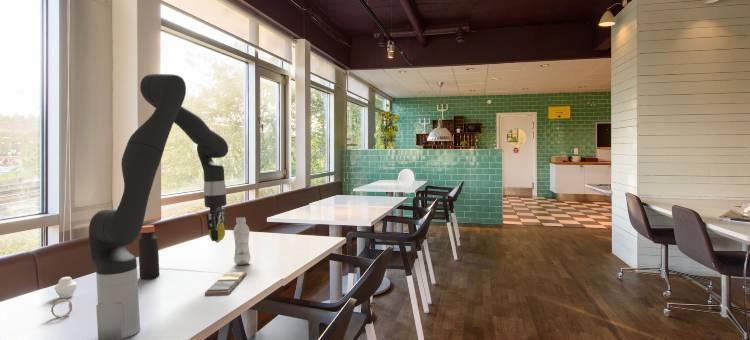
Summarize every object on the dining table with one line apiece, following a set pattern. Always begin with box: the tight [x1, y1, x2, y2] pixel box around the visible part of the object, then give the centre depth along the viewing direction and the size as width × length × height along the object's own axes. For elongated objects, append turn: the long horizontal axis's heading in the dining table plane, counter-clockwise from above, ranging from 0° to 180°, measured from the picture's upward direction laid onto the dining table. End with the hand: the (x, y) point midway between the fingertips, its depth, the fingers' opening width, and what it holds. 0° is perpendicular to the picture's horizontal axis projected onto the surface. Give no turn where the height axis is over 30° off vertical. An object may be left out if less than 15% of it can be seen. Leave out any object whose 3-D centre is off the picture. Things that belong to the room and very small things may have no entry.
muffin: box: [54, 276, 78, 299], centre depth 142 cm, size 6×6×7 cm
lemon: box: [208, 223, 226, 244], centre depth 153 cm, size 6×6×8 cm
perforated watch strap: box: [50, 298, 73, 318], centre depth 124 cm, size 3×5×5 cm, turn 138°
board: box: [204, 271, 247, 296], centre depth 151 cm, size 22×8×2 cm, turn 2°
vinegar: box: [137, 224, 160, 280], centre depth 162 cm, size 7×7×20 cm
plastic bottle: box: [232, 216, 251, 266], centre depth 177 cm, size 6×7×20 cm
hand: (217, 238), depth 153 cm, fingers closed on lemon, 5 cm apart
